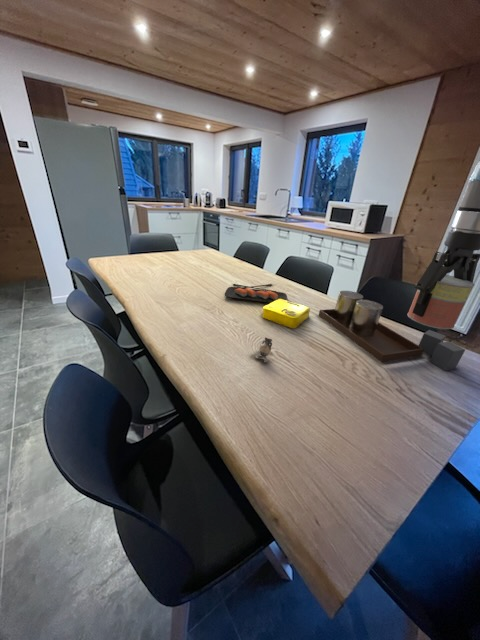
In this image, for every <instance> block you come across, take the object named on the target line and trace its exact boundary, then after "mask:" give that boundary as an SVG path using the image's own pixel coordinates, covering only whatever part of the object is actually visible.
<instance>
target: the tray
mask: <svg viewBox="0 0 480 640" xmlns="http://www.w3.org/2000/svg"><path fill="white" fill-rule="evenodd" d="M334 311H335V308H327V309H319V311H318V316H319V317H320V318H322V319H323V320H324V321H326V322H327V323H328V324H329V325H331V326H332V327H333V328H335V329H336V330H337V331H339V332H340V333H342V335H344V337H347V338H348V339H349V340H351V341H352V342H353V343H355V344H356V345H357V346H359V348H361V349H363V350H364V351H366V352H367V353H368V354H370V355H371V356H372V357H373V358H375V359H376V360H377V361H379V362H380V363H383V362H384V363H385V362H390V361H396V360H403V359H410V358H417V357H422V356H423V354H424V352H423V351H424V349H423V348H422V347H420V346H419V344H417V343H415V342H413V341H411V339H408V338H406V337H405V336H404V335H401V334H399V333H398V332H396V331H395V330H393V329H391V328H389V327H388V326H386V325H384V324H382V323H381V322H379V321H378V324H377V327H376V330H375V333H374V335H373V336H372V337H363V336H359V335H356V334H355V333H353V332H352V331H350V330H349V325H348V324H342V323H339V322H338V321H336V320H335V319H333V314H334Z"/></svg>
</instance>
